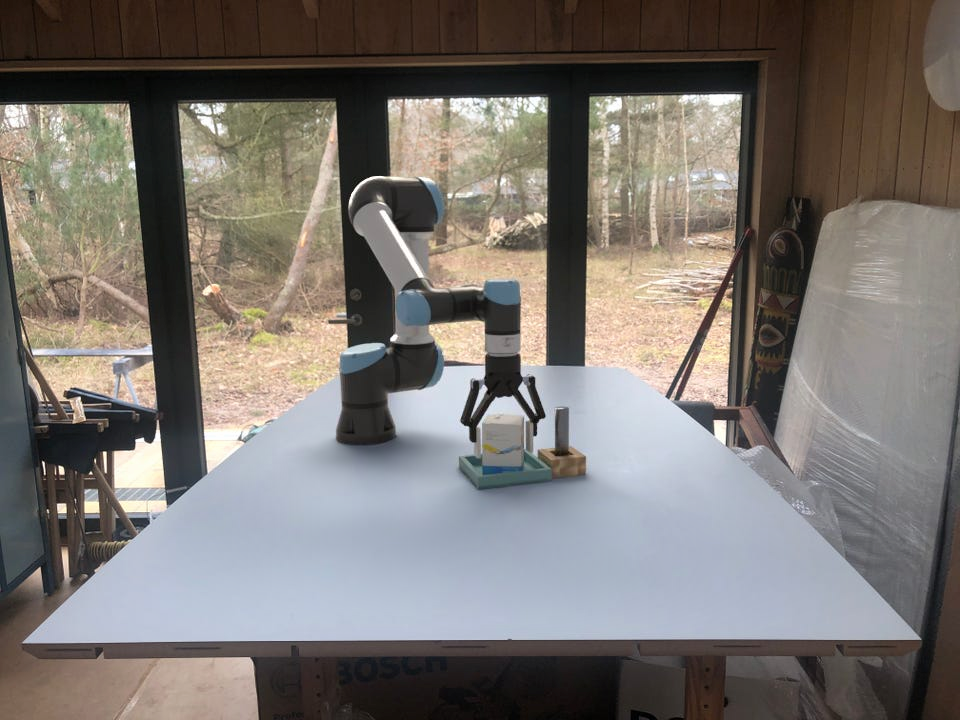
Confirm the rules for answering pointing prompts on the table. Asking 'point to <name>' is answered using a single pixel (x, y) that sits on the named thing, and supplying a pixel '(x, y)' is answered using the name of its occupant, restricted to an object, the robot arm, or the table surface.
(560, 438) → the cylinder
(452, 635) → the table surface
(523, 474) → the tray
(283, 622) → the table surface
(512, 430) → the ink box
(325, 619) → the table surface
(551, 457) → the wooden frame
